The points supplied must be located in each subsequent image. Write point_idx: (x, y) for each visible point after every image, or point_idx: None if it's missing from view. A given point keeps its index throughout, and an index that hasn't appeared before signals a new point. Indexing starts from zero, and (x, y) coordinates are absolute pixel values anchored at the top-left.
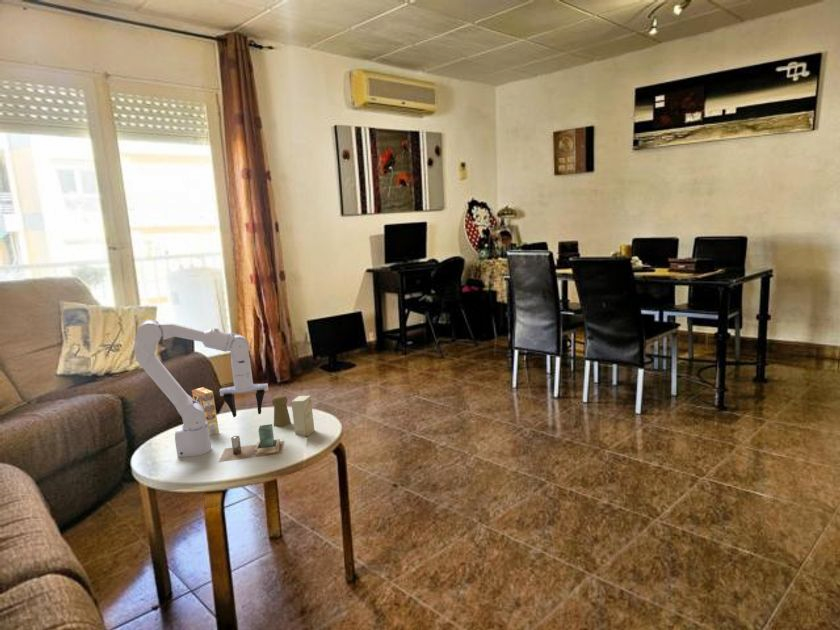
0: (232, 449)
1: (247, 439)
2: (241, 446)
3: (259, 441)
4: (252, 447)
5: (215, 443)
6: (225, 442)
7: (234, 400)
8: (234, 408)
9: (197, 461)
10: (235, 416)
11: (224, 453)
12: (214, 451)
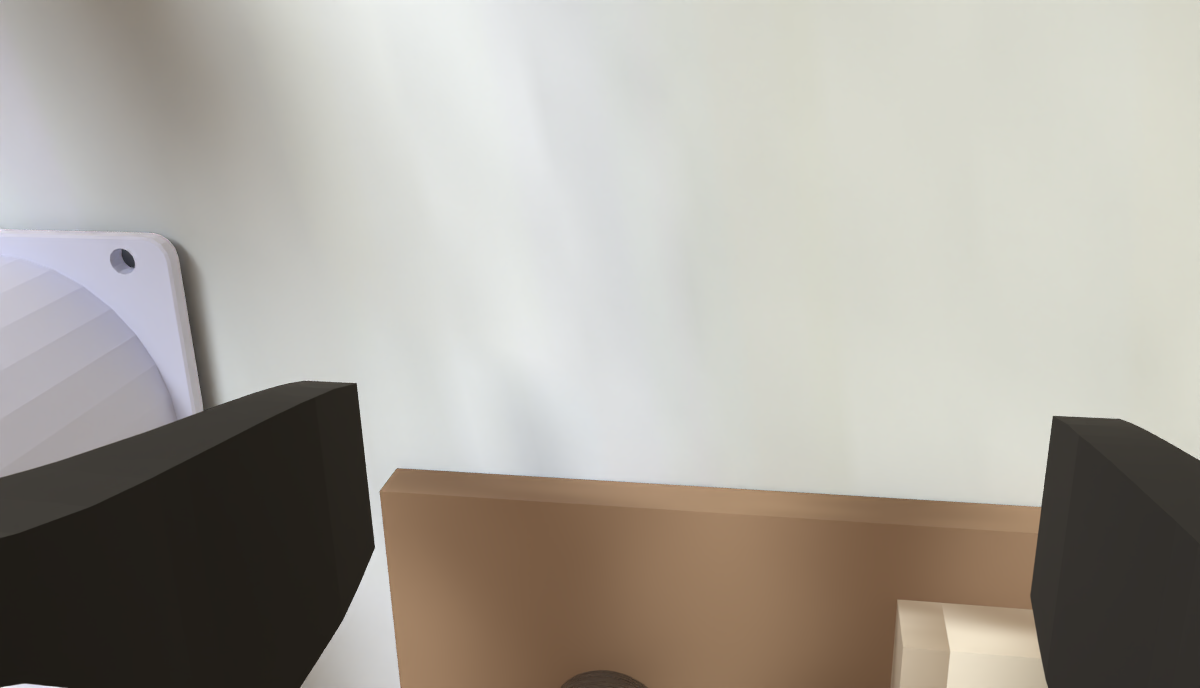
0: (506, 568)
1: (654, 48)
2: (625, 507)
3: (941, 654)
4: (812, 615)
5: (123, 50)
6: (282, 62)
7: (57, 543)
8: (248, 608)
9: None
10: (369, 540)
11: (424, 668)
12: (229, 396)
